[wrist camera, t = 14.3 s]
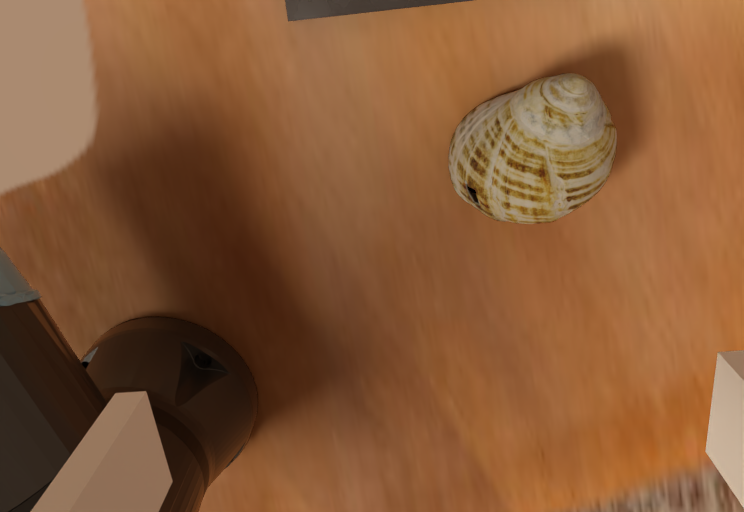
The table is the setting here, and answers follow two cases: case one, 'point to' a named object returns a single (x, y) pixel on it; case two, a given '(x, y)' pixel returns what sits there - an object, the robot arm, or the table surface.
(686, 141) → the table surface
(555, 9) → the table surface
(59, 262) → the table surface
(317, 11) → the stand
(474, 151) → the seashell
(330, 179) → the table surface
